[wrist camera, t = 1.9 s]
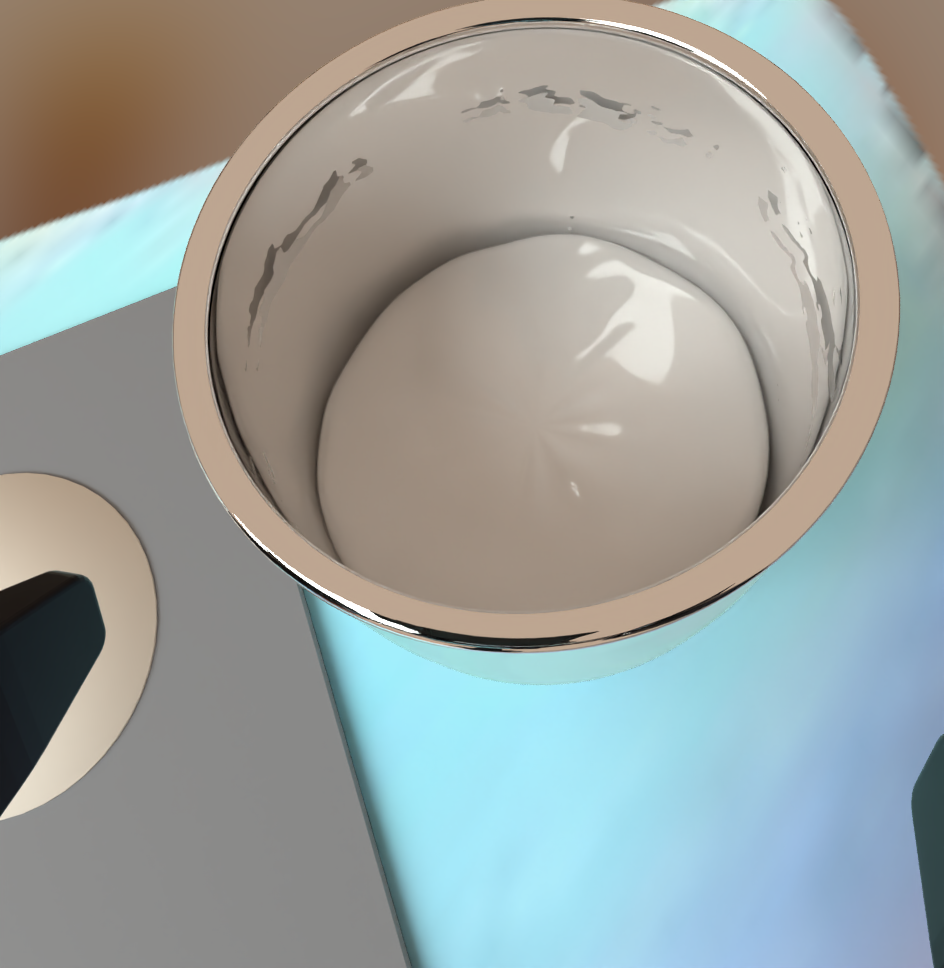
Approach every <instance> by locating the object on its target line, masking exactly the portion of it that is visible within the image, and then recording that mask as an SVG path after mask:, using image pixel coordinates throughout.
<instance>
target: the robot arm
mask: <svg viewBox="0 0 944 968" xmlns="http://www.w3.org/2000/svg"><path fill="white" fill-rule="evenodd" d="M105 637H106V629H105V625H104V621H103V618H102V614H101V610H100V607H99V603H98V600H97V596H96V593H95V589H94V586H93V584H92V582H91V581H90V580H89V578H88V577H86V576H84V575H81V574H76V573H70V572H64V571H59V570H58V571H55V570H53V571H48V572H45V573H42V574H40V575H37V576H35V577H32V578H30V579H27V580H25V581H22V582H20V583H18V584H15V585H13V586H10V587H8V588H5V589H3V590H0V817H1V815H2V814H3V813H4V811H5V810H6V808H7V807H8V805H9V804H10V803H11V801H12V800H13V798H14V797H15V796H16V794H17V793H18V791H19V790H20V788H21V787H22V785H23V784H24V782H25V781H26V779H27V778H28V776H29V775H30V773H31V772H32V770H33V769H34V767H35V766H36V764H37V762H38V761H39V759H40V757H41V756H42V754H43V753H44V751H45V749H46V748H47V746H48V744H49V742H50V741H51V739H52V737H53V735H54V734H55V732H56V730H57V728H58V727H59V725H60V723H61V721H62V720H63V718H64V716H65V714H66V713H67V711H68V709H69V707H70V706H71V704H72V702H73V700H74V699H75V697H76V695H77V693H78V692H79V690H80V688H81V686H82V685H83V683H84V681H85V679H86V678H87V676H88V674H89V672H90V671H91V669H92V667H93V665H94V664H95V662H96V660H97V658H98V657H99V655H100V653H101V651H102V649H103V646H104V643H105ZM911 808H912V817H913V824H914V831H915V839H916V846H917V853H918V860H919V868H920V875H921V882H922V889H923V897H924V904H925V911H926V918H927V926H928V933H929V940H930V947H931V953H932V959H933V965H934V968H944V734H943V735H942V736H940V738H939V739H938V741H937V742H936V744H935V746H934V748H933V750H932V752H931V754H930V756H929V758H928V760H927V762H926V764H925V766H924V767H923V769H922V771H921V773H920V775H919V777H918V779H917V781H916V783H915V786H914V789H913V793H912V800H911Z"/></svg>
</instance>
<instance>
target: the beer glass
mask: <svg viewBox="0 0 944 968" xmlns="http://www.w3.org/2000/svg"><path fill="white" fill-rule="evenodd" d="M899 323H900V292H899V279H898V269H897V262H896V257H895V251H894V246H893V242H892V238H891V233H890V230H889V226H888V223H887V220H886V216H885V214H884V211H883V208H882V205H881V203H880V200H879V198H878V195H877V193H876V190H875V188H874V186H873V184H872V182H871V180H870V178H869V175H868V173H867V171H866V170H865V168H864V166H863V164H862V162H861V161H860V159H859V157H858V155H857V154H856V152H855V151H854V149H853V148H852V146H851V144H850V143H849V141H848V140H847V138H846V137H845V136H844V134H843V133H842V131H841V130H840V129H839V127H838V126H837V125H836V124H835V122H834V121H833V120H832V119H831V117H830V116H829V115H828V114H827V113H826V111H825V110H824V109H823V108H822V107H821V106H820V105H819V104H818V103H817V102H816V101H815V100H814V98H813V97H812V96H811V95H810V94H809V93H808V92H807V91H806V90H804V89H803V88H802V87H801V86H800V85H799V84H798V83H797V82H796V81H795V80H794V79H792V78H791V77H790V76H789V75H788V74H786V73H785V72H784V71H783V70H781V69H780V68H779V67H777V66H776V65H775V64H773V63H772V62H771V61H769V60H768V59H766V58H765V57H764V56H762V55H761V54H759V53H758V52H756V51H755V50H753V49H751V48H750V47H748V46H746V45H745V44H743V43H741V42H740V41H738V40H736V39H734V38H732V37H731V36H729V35H727V34H725V33H723V32H721V31H719V30H717V29H715V28H712V27H710V26H708V25H705V24H703V23H701V22H698V21H696V20H693V19H691V18H688V17H685V16H682V15H680V14H677V13H674V12H671V11H667V10H664V9H661V8H657V7H653V6H649V5H646V4H641V3H637V2H632V1H627V0H480V1H475V2H469V3H465V4H461V5H457V6H453V7H449V8H445V9H442V10H438V11H435V12H432V13H429V14H426V15H423V16H420V17H417V18H414V19H411V20H408V21H406V22H404V23H401V24H399V25H396V26H394V27H391V28H389V29H387V30H385V31H383V32H381V33H378V34H376V35H374V36H372V37H370V38H368V39H366V40H364V41H363V42H361V43H359V44H357V45H356V46H354V47H352V48H350V49H348V50H347V51H345V52H343V53H342V54H340V55H339V56H337V57H335V58H334V59H332V60H331V61H329V62H328V63H326V64H325V65H323V66H322V67H321V68H319V69H318V70H316V71H315V72H314V73H312V74H311V75H310V76H308V77H307V78H306V79H305V80H303V81H302V82H301V83H300V84H298V85H297V86H296V87H295V88H294V89H293V90H291V91H290V92H289V93H288V94H287V95H286V96H285V97H283V99H281V100H280V101H279V102H278V103H277V104H276V105H275V106H274V107H273V108H272V109H271V110H270V111H269V112H268V113H267V114H266V115H265V116H264V117H263V118H262V119H261V120H260V122H259V123H258V124H257V125H256V126H255V127H254V128H253V130H252V131H251V132H250V133H249V134H248V135H247V137H246V138H245V139H244V141H243V142H242V143H241V144H240V146H239V147H238V149H237V150H236V151H235V152H234V154H233V155H232V157H231V158H230V159H229V161H228V162H227V164H226V166H225V167H224V169H223V170H222V172H221V173H220V175H219V177H218V178H217V180H216V182H215V183H214V185H213V187H212V189H211V191H210V193H209V195H208V196H207V198H206V200H205V202H204V205H203V207H202V209H201V211H200V213H199V216H198V218H197V220H196V223H195V225H194V228H193V230H192V233H191V236H190V238H189V241H188V245H187V248H186V251H185V254H184V258H183V262H182V266H181V269H180V274H179V279H178V284H177V289H176V295H175V301H174V312H173V326H172V354H173V368H174V378H175V384H176V391H177V396H178V401H179V406H180V410H181V414H182V417H183V421H184V425H185V428H186V431H187V434H188V437H189V440H190V442H191V445H192V448H193V450H194V453H195V455H196V457H197V460H198V462H199V464H200V466H201V468H202V470H203V472H204V474H205V476H206V478H207V480H208V482H209V484H210V485H211V487H212V489H213V490H214V492H215V494H216V496H217V497H218V499H219V500H220V502H221V503H222V505H223V506H224V508H225V509H226V511H227V512H228V514H229V515H230V516H231V518H232V519H233V520H234V522H235V523H236V524H237V526H238V527H239V528H240V529H241V530H242V532H243V533H244V534H245V535H246V536H247V537H248V539H249V540H250V541H251V542H252V543H253V544H254V545H255V546H256V547H257V548H258V549H259V551H260V552H261V553H263V554H264V555H265V556H266V557H267V558H268V559H269V560H270V561H271V562H272V563H273V564H274V565H275V566H277V567H278V568H279V569H280V570H281V571H282V572H283V573H285V574H286V575H287V576H288V577H290V578H291V579H292V580H293V581H295V582H296V583H297V584H299V585H300V586H301V587H303V588H304V589H306V590H307V591H309V592H310V593H312V594H313V595H315V596H316V597H318V598H319V599H321V600H323V601H324V602H326V603H327V604H329V605H331V606H333V607H335V608H336V609H338V610H340V611H342V612H344V613H346V614H348V615H350V616H352V617H354V618H355V619H357V620H358V621H360V622H361V623H363V624H364V625H366V626H367V627H369V628H370V629H372V630H373V631H375V632H376V633H378V634H379V635H381V636H383V637H384V638H386V639H388V640H389V641H391V642H392V643H394V644H396V645H398V646H400V647H401V648H403V649H405V650H407V651H409V652H411V653H413V654H415V655H417V656H419V657H422V658H424V659H426V660H429V661H431V662H434V663H436V664H439V665H441V666H444V667H447V668H449V669H452V670H455V671H457V672H460V673H464V674H467V675H470V676H474V677H478V678H482V679H486V680H491V681H496V682H503V683H511V684H522V685H559V684H570V683H578V682H584V681H590V680H595V679H599V678H604V677H607V676H611V675H615V674H618V673H621V672H624V671H627V670H630V669H632V668H635V667H638V666H640V665H642V664H645V663H647V662H649V661H651V660H654V659H656V658H658V657H660V656H662V655H664V654H665V653H667V652H669V651H671V650H672V649H674V648H676V647H677V646H679V645H680V644H682V643H684V642H685V641H687V640H688V639H690V638H691V637H692V636H694V635H695V634H697V633H698V632H700V631H701V630H702V629H704V628H705V627H707V626H708V625H709V624H711V623H712V622H713V621H715V620H716V619H717V618H718V617H720V616H721V615H722V614H724V613H725V612H726V611H727V610H728V609H729V608H730V607H731V606H733V605H734V604H735V603H736V602H737V601H738V600H739V599H740V598H741V597H742V596H743V595H744V594H745V593H746V592H747V591H748V590H749V589H750V588H751V587H752V585H753V584H754V583H755V582H756V581H757V580H758V579H759V578H760V577H761V576H762V575H763V574H764V573H765V572H766V570H767V569H768V568H769V567H770V566H771V565H772V564H774V563H775V562H776V561H777V560H779V559H780V558H781V557H782V556H783V555H784V554H785V553H786V552H788V551H789V550H790V549H791V548H792V547H793V546H794V545H795V544H796V543H797V542H798V541H799V540H800V539H801V538H802V537H803V536H804V535H805V534H806V533H807V532H808V531H809V530H810V529H811V527H812V526H813V525H814V524H815V523H816V522H817V521H818V520H819V519H820V517H821V516H822V515H823V514H824V512H825V511H826V510H827V509H828V508H829V506H830V505H831V504H832V502H833V501H834V500H835V498H836V497H837V495H838V494H839V493H840V491H841V490H842V489H843V487H844V485H845V484H846V482H847V481H848V479H849V478H850V476H851V475H852V473H853V471H854V470H855V468H856V466H857V464H858V463H859V461H860V459H861V457H862V455H863V453H864V451H865V449H866V447H867V445H868V443H869V441H870V439H871V437H872V434H873V432H874V430H875V427H876V425H877V423H878V420H879V417H880V415H881V412H882V409H883V406H884V403H885V400H886V397H887V393H888V390H889V387H890V383H891V378H892V374H893V370H894V365H895V359H896V353H897V345H898V337H899Z"/></svg>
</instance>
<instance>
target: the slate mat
mask: <svg viewBox="0 0 944 968" xmlns="http://www.w3.org/2000/svg"><path fill="white" fill-rule="evenodd" d="M176 289H177V287H174V288H172V289H169V290H166V291H164V292H161V293H159V294H156V295H154V296H151V297H149V298H146V299H144V300H141V301H138V302H136V303H133V304H131V305H128V306H126V307H123V308H121V309H118V310H115V311H113V312H110V313H108V314H105V315H103V316H100V317H98V318H95V319H92V320H90V321H87V322H85V323H82V324H80V325H77V326H75V327H72V328H70V329H67V330H64V331H62V332H59V333H57V334H54V335H52V336H49V337H47V338H44V339H41V340H39V341H36V342H34V343H31V344H29V345H26V346H24V347H21V348H18V349H16V350H13V351H11V352H8V353H6V354H3V355H1V356H0V590H3V589H5V588H8V587H10V586H13V585H15V584H18V583H20V582H22V581H25V580H27V579H30V578H32V577H35V576H37V575H40V574H42V573H45V572H48V571H53V570H55V571H58V570H59V571H64V572H70V573H76V574H81V575H84V576H86V577H88V578H89V580H90V581H91V582H92V584H93V586H94V589H95V593H96V596H97V600H98V603H99V607H100V610H101V614H102V618H103V621H104V625H105V629H106V637H105V643H104V646H103V649H102V651H101V653H100V655H99V657H98V658H97V660H96V662H95V664H94V665H93V667H92V669H91V671H90V672H89V674H88V676H87V678H86V679H85V681H84V683H83V685H82V686H81V688H80V690H79V692H78V693H77V695H76V697H75V699H74V700H73V702H72V704H71V706H70V707H69V709H68V711H67V713H66V714H65V716H64V718H63V720H62V721H61V723H60V725H59V727H58V728H57V730H56V732H55V734H54V735H53V737H52V739H51V741H50V742H49V744H48V746H47V748H46V749H45V751H44V753H43V754H42V756H41V757H40V759H39V761H38V762H37V764H36V766H35V767H34V769H33V770H32V772H31V773H30V775H29V776H28V778H27V779H26V781H25V782H24V784H23V785H22V787H21V788H20V790H19V791H18V793H17V794H16V796H15V797H14V798H13V800H12V801H11V803H10V804H9V805H8V807H7V808H6V810H5V811H4V813H3V814H2V815H1V817H0V968H412V967H411V964H410V960H409V957H408V953H407V950H406V946H405V943H404V939H403V936H402V933H401V929H400V926H399V922H398V919H397V915H396V912H395V908H394V905H393V901H392V898H391V894H390V891H389V887H388V884H387V881H386V877H385V874H384V870H383V867H382V863H381V860H380V856H379V853H378V849H377V846H376V842H375V839H374V835H373V832H372V828H371V825H370V822H369V818H368V815H367V811H366V808H365V804H364V801H363V797H362V794H361V790H360V787H359V783H358V780H357V776H356V773H355V769H354V766H353V763H352V759H351V756H350V752H349V749H348V745H347V742H346V738H345V735H344V731H343V728H342V724H341V721H340V717H339V714H338V711H337V707H336V704H335V700H334V697H333V693H332V690H331V686H330V683H329V679H328V676H327V672H326V669H325V665H324V662H323V658H322V655H321V652H320V648H319V645H318V641H317V638H316V634H315V631H314V627H313V624H312V620H311V617H310V613H309V610H308V606H307V603H306V599H305V596H304V593H303V589H302V587H301V586H300V585H299V584H297V583H296V582H295V581H293V580H292V579H291V578H290V577H288V576H287V575H286V574H285V573H283V572H282V571H281V570H280V569H279V568H278V567H277V566H275V565H274V564H273V563H272V562H271V561H270V560H269V559H268V558H267V557H266V556H265V555H264V554H263V553H261V552H260V551H259V549H258V548H257V547H256V546H255V545H254V544H253V543H252V542H251V541H250V540H249V539H248V537H247V536H246V535H245V534H244V533H243V532H242V530H241V529H240V528H239V527H238V526H237V524H236V523H235V522H234V520H233V519H232V518H231V516H230V515H229V514H228V512H227V511H226V509H225V508H224V506H223V505H222V503H221V502H220V500H219V499H218V497H217V496H216V494H215V492H214V490H213V489H212V487H211V485H210V484H209V482H208V480H207V478H206V476H205V474H204V472H203V470H202V468H201V466H200V464H199V462H198V460H197V457H196V455H195V453H194V450H193V448H192V445H191V442H190V440H189V437H188V434H187V431H186V428H185V425H184V421H183V417H182V414H181V410H180V406H179V401H178V396H177V391H176V384H175V378H174V368H173V354H172V326H173V312H174V301H175V295H176Z"/></svg>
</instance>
